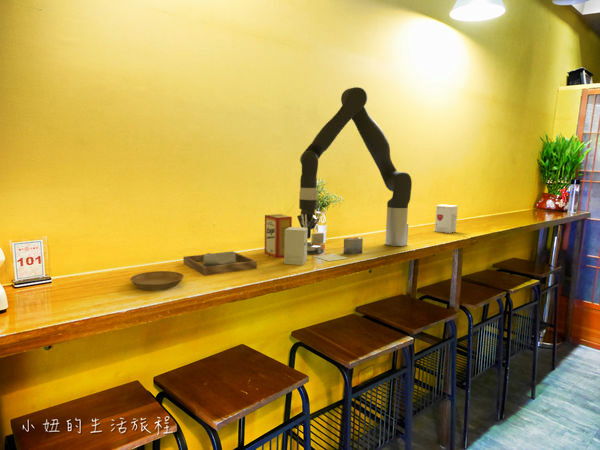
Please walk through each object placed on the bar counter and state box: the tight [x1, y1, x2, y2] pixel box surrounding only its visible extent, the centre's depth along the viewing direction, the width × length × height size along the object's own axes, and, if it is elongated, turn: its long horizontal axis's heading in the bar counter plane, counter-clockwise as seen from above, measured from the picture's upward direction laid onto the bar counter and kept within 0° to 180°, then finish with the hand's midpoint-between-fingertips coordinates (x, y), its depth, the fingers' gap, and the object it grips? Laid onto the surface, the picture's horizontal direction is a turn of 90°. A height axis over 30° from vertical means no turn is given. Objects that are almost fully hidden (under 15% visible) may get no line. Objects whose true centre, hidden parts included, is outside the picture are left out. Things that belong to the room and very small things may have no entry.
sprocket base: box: [307, 250, 325, 255], centre depth 174 cm, size 13×13×1 cm
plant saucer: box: [129, 270, 184, 291], centre depth 122 cm, size 15×15×3 cm
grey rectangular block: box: [342, 236, 364, 256], centre depth 172 cm, size 9×4×6 cm, turn 125°
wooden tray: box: [182, 250, 258, 276], centre depth 146 cm, size 19×19×2 cm
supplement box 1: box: [283, 226, 308, 266], centre depth 153 cm, size 7×7×13 cm
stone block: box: [202, 251, 237, 267], centre depth 148 cm, size 12×5×10 cm
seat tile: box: [312, 252, 349, 262], centre depth 163 cm, size 10×10×1 cm
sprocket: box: [307, 232, 326, 253], centre depth 174 cm, size 14×14×6 cm
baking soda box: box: [264, 213, 293, 259], centre depth 165 cm, size 10×6×16 cm
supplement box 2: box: [434, 203, 459, 234], centre depth 234 cm, size 9×9×15 cm
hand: (307, 238), depth 182 cm, fingers closed
